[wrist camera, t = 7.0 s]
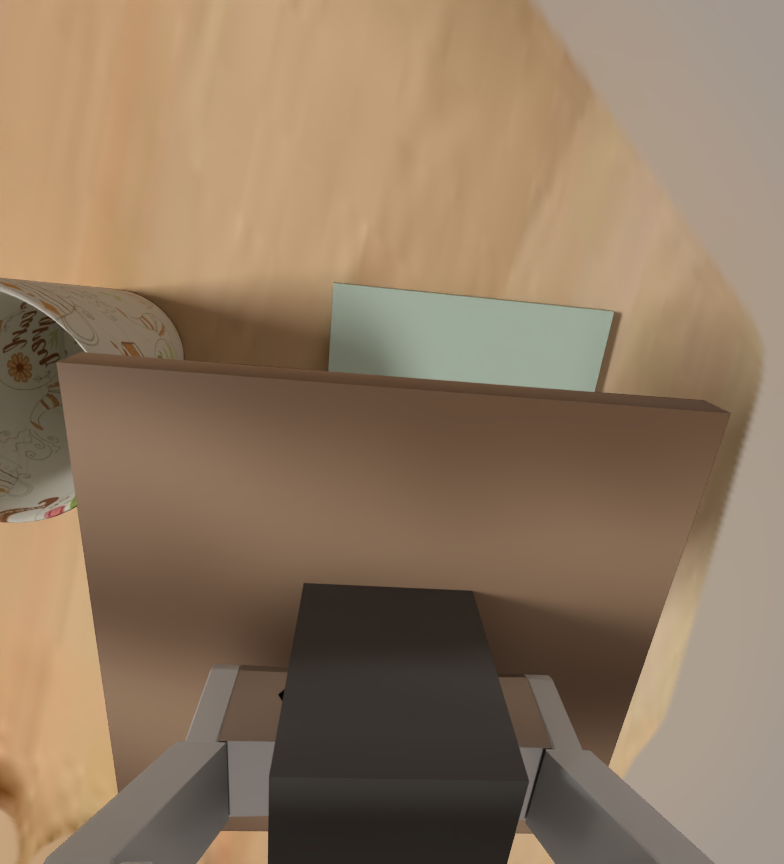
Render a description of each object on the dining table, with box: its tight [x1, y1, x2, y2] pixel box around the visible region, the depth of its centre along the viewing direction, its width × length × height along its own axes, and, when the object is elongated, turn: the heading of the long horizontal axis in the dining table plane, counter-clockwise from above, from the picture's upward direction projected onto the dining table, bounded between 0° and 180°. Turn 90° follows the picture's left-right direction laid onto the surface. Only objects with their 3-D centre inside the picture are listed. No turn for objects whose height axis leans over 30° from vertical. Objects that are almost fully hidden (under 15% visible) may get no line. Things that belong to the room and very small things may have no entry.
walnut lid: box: [56, 352, 731, 864], centre depth 10 cm, size 12×12×5 cm
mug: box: [0, 278, 184, 523], centre depth 22 cm, size 8×13×10 cm, turn 33°
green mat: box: [328, 282, 614, 392], centre depth 28 cm, size 14×14×1 cm
